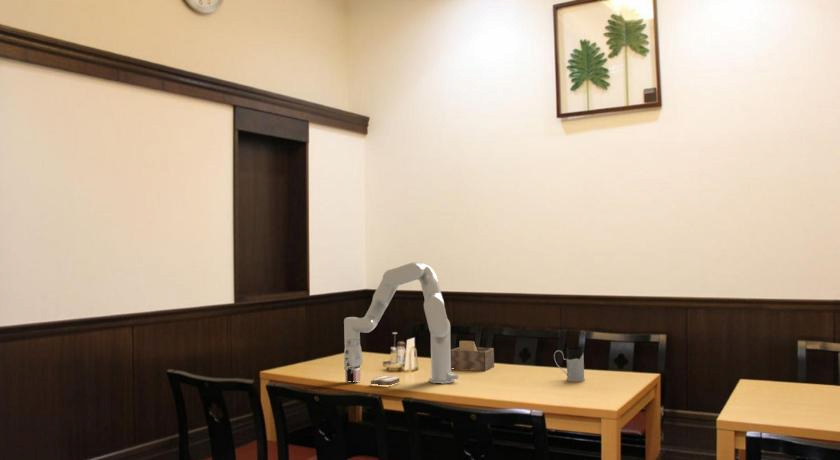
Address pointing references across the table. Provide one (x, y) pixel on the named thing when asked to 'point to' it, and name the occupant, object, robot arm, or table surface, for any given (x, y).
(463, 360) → the brown storage basket
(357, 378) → the pink block
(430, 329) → the robot arm
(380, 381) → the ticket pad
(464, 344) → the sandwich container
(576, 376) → the glass holder
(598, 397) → the table surface
